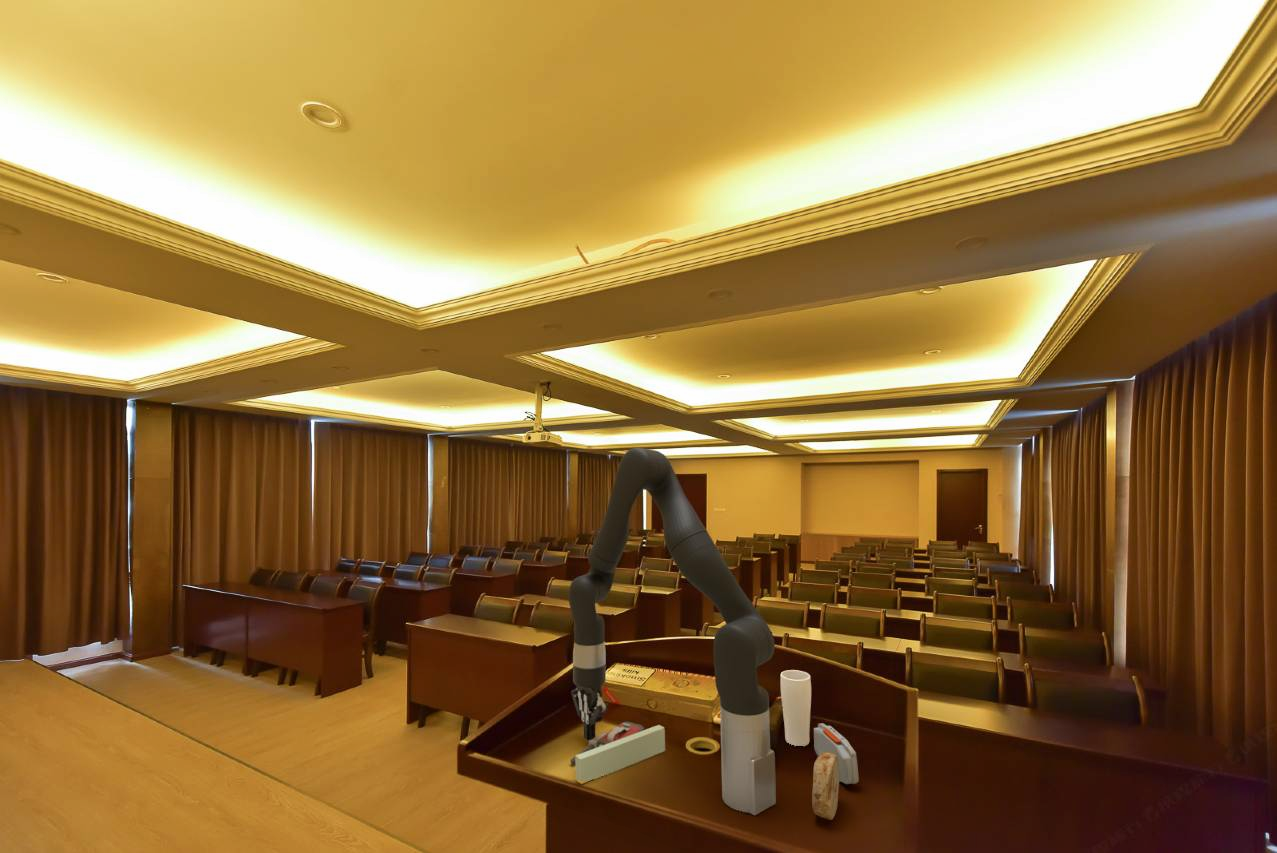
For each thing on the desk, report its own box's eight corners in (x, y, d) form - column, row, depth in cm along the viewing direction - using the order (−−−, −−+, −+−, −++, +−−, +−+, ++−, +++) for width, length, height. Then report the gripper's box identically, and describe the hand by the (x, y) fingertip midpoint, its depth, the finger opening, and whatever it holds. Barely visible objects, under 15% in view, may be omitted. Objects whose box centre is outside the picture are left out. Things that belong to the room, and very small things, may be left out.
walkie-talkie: (617, 729, 141) (567, 767, 123) (616, 711, 141) (567, 746, 124) (648, 737, 136) (601, 778, 119) (648, 718, 137) (601, 755, 119)
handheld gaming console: (860, 791, 112) (859, 749, 113) (846, 793, 112) (845, 750, 112) (823, 755, 126) (822, 717, 127) (811, 756, 126) (809, 718, 126)
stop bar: (665, 751, 129) (664, 727, 129) (580, 785, 116) (580, 759, 116) (659, 747, 131) (658, 724, 131) (575, 781, 117) (575, 755, 117)
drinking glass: (818, 741, 132) (815, 674, 133) (804, 752, 127) (801, 682, 128) (791, 732, 137) (789, 667, 138) (776, 742, 132) (774, 675, 133)
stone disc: (822, 795, 111) (820, 741, 112) (842, 801, 109) (840, 746, 110) (809, 825, 102) (807, 766, 102) (831, 831, 100) (829, 771, 101)
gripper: (619, 665, 131) (619, 744, 130) (587, 650, 142) (587, 723, 141) (591, 673, 127) (591, 755, 126) (560, 657, 137) (560, 732, 136)
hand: (589, 738), depth 133 cm, fingers closed
